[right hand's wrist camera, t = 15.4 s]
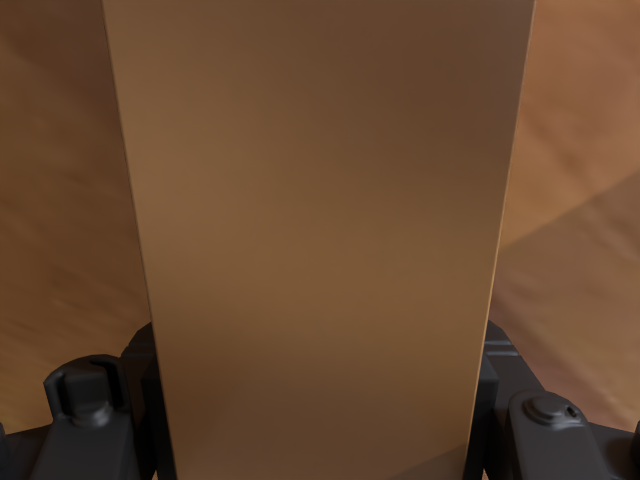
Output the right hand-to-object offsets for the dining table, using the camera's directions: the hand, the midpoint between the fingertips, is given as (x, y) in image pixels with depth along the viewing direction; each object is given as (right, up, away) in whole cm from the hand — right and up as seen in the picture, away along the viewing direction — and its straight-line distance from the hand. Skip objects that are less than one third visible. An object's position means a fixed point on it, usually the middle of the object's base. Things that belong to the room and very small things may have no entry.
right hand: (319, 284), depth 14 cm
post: (0, +28, -10) cm, 30 cm away
